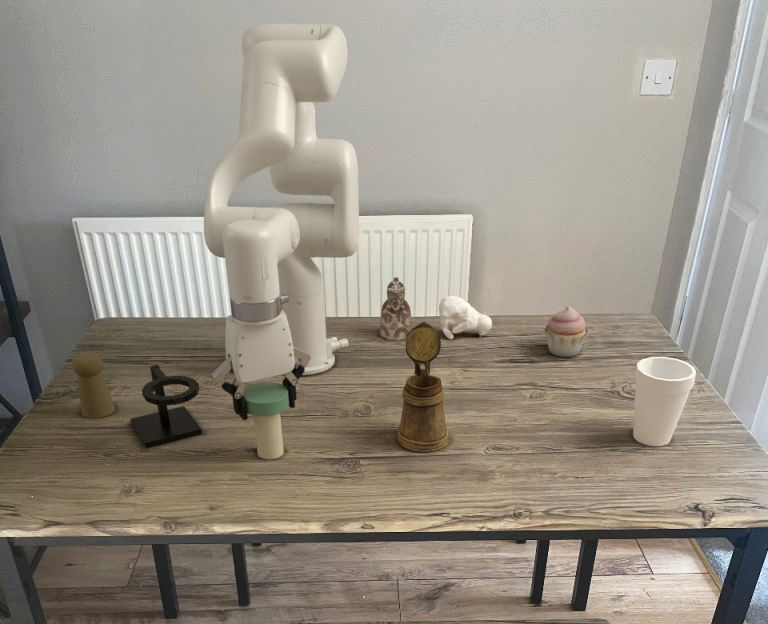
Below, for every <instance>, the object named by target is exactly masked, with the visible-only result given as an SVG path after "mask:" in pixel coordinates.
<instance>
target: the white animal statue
mask: <svg viewBox="0 0 768 624" xmlns="http://www.w3.org/2000/svg"><path fill="white" fill-rule="evenodd" d="M438 314H439V320H438V321H439V325H440V328H441V330H442V332H443V334H444V335H445V337H446V338H448V340H454V334H460V333H462V332H465V331H471V330H474V331H477V334H478V335H479V338H481V337H482V336H486V335H487V333H488V332H489V331H491V329H492V327H493V321H492V318H491V317H490V316H488V315H486V314H483V313H480V312H479V311H478V310H476V309H475V307H473V306H471V304H470V303H469V302H467V301H466V300H465V299H464V298H462V297H460V296H456V295H447V296H445V297H442V299H441V300H440V302H439V305H438ZM453 325H455V327H453Z"/></svg>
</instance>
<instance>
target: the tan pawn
mask: <svg viewBox="0 0 768 624" xmlns="http://www.w3.org/2000/svg"><path fill="white" fill-rule="evenodd" d="M71 367H72V370H73V372H74V373H75V374H76V375H77V382H78V393H79V401H80V413H81V416H83V417H85V418H88V419H100V418H104V417H107V416H109V415H112V414H113V413H114V412H115V411H116V406H115V404H114V401H113V398H112V396H111V392H110V390H109V388H108V385H107V383H106V380H105V377H104V374H103V372H102V370H103V368H104V362H103V360H102V357H101V356H100V355H99V354H98V353H95V352H90V351H89V352H88V351H87V352H82V353H78V354H76V355H75V356H74V357H73V358H72V362H71Z"/></svg>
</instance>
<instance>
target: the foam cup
mask: <svg viewBox="0 0 768 624" xmlns="http://www.w3.org/2000/svg"><path fill="white" fill-rule="evenodd" d="M696 376H697V371H696V367H694V366H693V365H691V364H690V363H688V362H687V361H684V360H681V359H678V358H673V357H669V356H649V357H646V358H642V359H641V360H639V361H638V362H637V363H636V368H635V372H634V384H635V386H634V405H633V427H632V429H633V430H632V436H633V439H635V440H636V442H638V443H640V444H643V445H645V446H650V447H663V446H666V445H668V444H669V443H670V442H671V440H672V438H673V435H674V433H675V431H676V428H677V425H678V423H679V420H680V417H681V415H682V412H683V410H684V408H685V405H686V403H687V400H688V397H689V395H690V393H691V390H692V388H693V387H694V385H695V381H696Z"/></svg>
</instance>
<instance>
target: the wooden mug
mask: <svg viewBox="0 0 768 624" xmlns="http://www.w3.org/2000/svg"><path fill="white" fill-rule="evenodd" d="M441 347H442V340H441V336H440V333H439V332H438V331H437V330H436V328H434V327H433V326H432V325H430V324H429V323H427V322H425V321H422V322H420V323H418V324H417V325H416V326H414V327H412V330H411V331H410V332H409V333H408V335H407V338H406V339H405V352H406V355H407V357H408V358H409V359H410V360H411V361H412V362H413V363H414V374H413V375H410V376H408V377H407V378H406V380H405V385H404V386H403V387H402V393H401V396H402V399H403V403H402V410H401V418H400V422H399V425H398V427H397V441H398V443H399V444H400V445H401V446H402V447H403V448H405V449H407V450H408V451H413V452H419V453H431V452H436V451H438V450H441V449H443V448H445V447H446V446H447V445H448V444H449V441H450V440H449V439H450V438H449V429H448V427H447V425H446V424H447V423H446V416H445V415H446V414H445V407H444V406H445V405H444V397H445V392H444V387H443V384H442V380H441V378H440V377H437V376H434V375H431V362H432V361H434V360H435V359H436V358H437V357H438V356H439V355H440V352H441Z"/></svg>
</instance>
